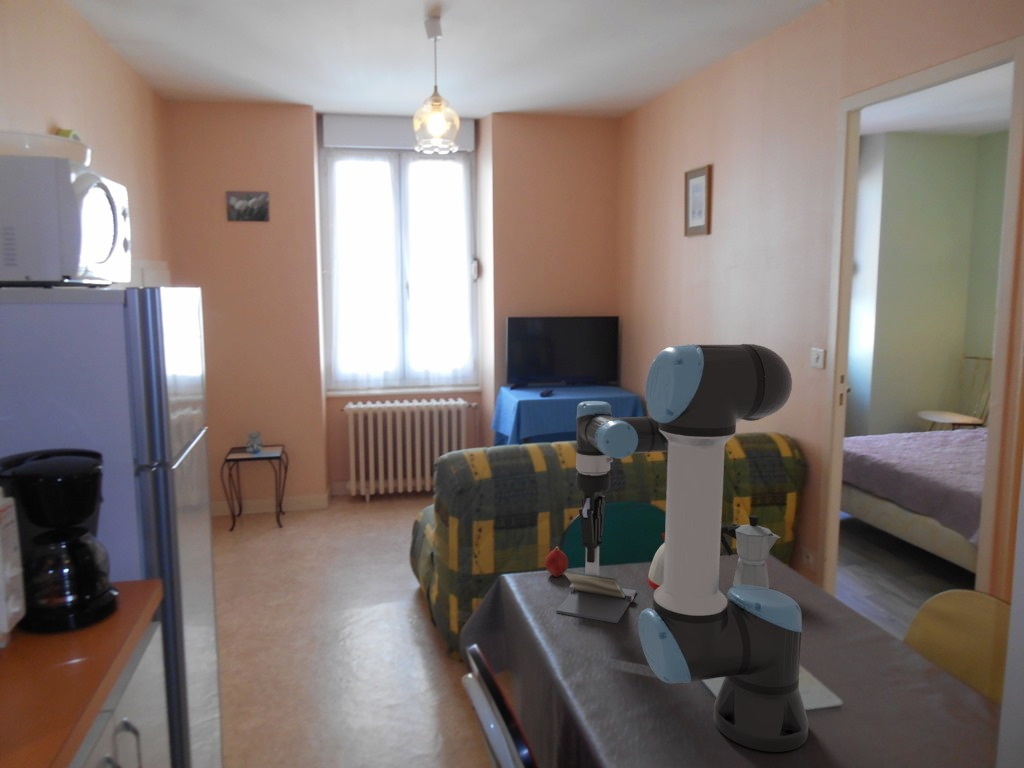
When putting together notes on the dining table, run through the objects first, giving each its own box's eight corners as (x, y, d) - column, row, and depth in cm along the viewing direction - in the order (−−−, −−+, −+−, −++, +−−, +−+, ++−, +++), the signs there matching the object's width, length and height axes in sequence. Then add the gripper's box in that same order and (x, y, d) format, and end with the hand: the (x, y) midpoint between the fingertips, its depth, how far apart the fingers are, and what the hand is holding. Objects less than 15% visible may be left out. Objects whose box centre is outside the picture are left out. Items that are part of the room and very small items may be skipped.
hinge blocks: (631, 602, 165) (631, 596, 165) (569, 592, 171) (569, 586, 171) (633, 598, 167) (633, 592, 167) (572, 588, 173) (572, 582, 173)
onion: (541, 574, 184) (542, 544, 183) (562, 571, 185) (563, 541, 184) (549, 582, 178) (550, 551, 177) (571, 580, 180) (571, 549, 179)
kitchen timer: (703, 599, 168) (705, 537, 167) (644, 591, 173) (645, 531, 171) (707, 578, 181) (709, 520, 180) (652, 571, 186) (653, 515, 184)
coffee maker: (782, 587, 175) (785, 515, 173) (774, 599, 168) (777, 524, 166) (721, 574, 183) (723, 506, 181) (710, 586, 176) (712, 514, 174)
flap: (626, 595, 167) (625, 599, 167) (578, 587, 172) (577, 591, 171) (616, 578, 157) (615, 582, 157) (564, 570, 162) (564, 574, 161)
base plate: (617, 623, 155) (617, 620, 155) (556, 612, 161) (556, 610, 161) (636, 592, 172) (636, 590, 172) (580, 583, 177) (580, 581, 177)
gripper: (601, 479, 151) (600, 587, 154) (617, 466, 163) (615, 566, 165) (567, 476, 154) (566, 582, 156) (585, 463, 166) (584, 562, 168)
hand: (592, 574), depth 161 cm, fingers closed
